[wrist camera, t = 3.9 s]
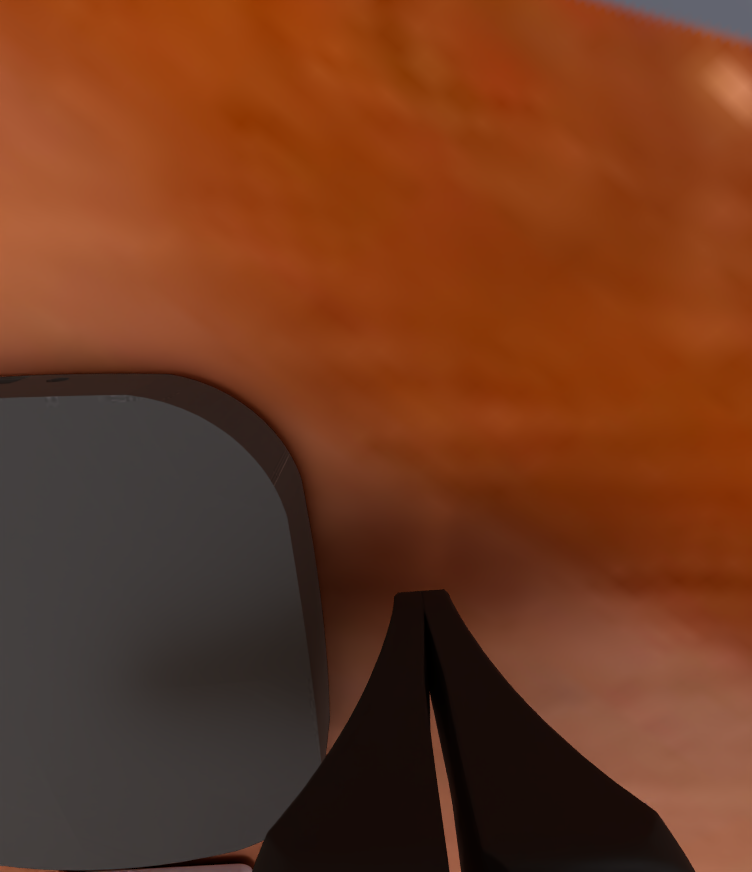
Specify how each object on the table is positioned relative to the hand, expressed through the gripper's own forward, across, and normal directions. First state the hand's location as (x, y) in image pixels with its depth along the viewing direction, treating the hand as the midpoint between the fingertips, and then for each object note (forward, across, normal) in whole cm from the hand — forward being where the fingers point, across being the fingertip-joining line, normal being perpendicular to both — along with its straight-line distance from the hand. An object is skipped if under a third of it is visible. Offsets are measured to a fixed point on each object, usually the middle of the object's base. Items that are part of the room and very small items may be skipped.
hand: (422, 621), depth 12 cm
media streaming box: (+2, +10, 0) cm, 10 cm away
